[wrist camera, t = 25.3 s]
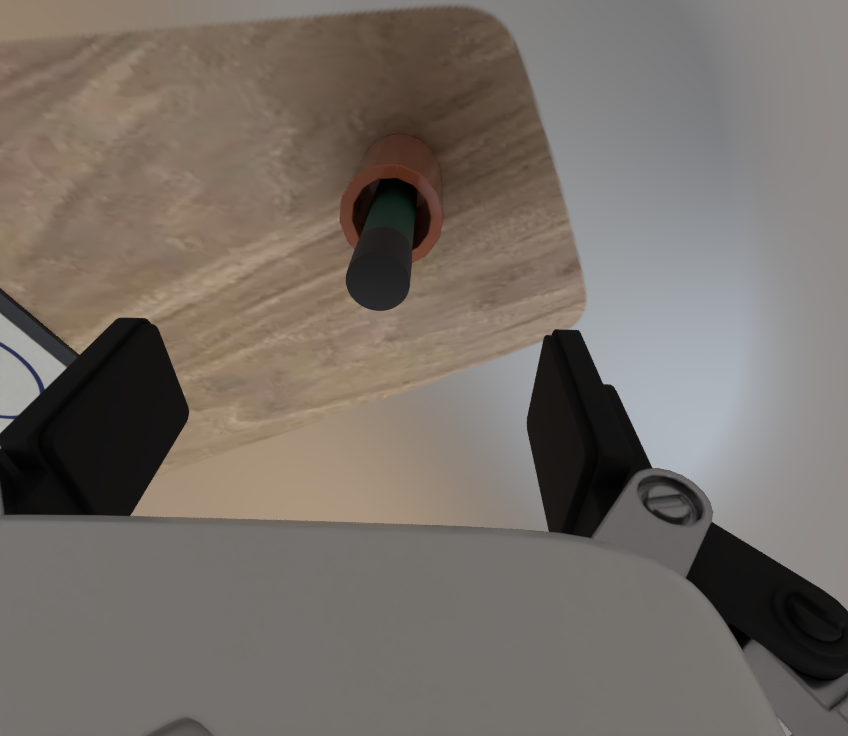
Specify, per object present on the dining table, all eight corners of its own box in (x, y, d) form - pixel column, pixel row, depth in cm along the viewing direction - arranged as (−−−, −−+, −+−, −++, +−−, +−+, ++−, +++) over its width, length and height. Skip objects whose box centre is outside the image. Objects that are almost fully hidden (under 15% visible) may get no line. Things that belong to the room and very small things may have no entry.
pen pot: (342, 161, 27) (318, 198, 22) (416, 116, 26) (411, 142, 20) (386, 233, 30) (374, 282, 24) (455, 194, 28) (461, 238, 23)
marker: (372, 174, 27) (332, 271, 17) (406, 153, 26) (388, 241, 16) (393, 209, 28) (368, 321, 18) (426, 191, 28) (421, 294, 17)
